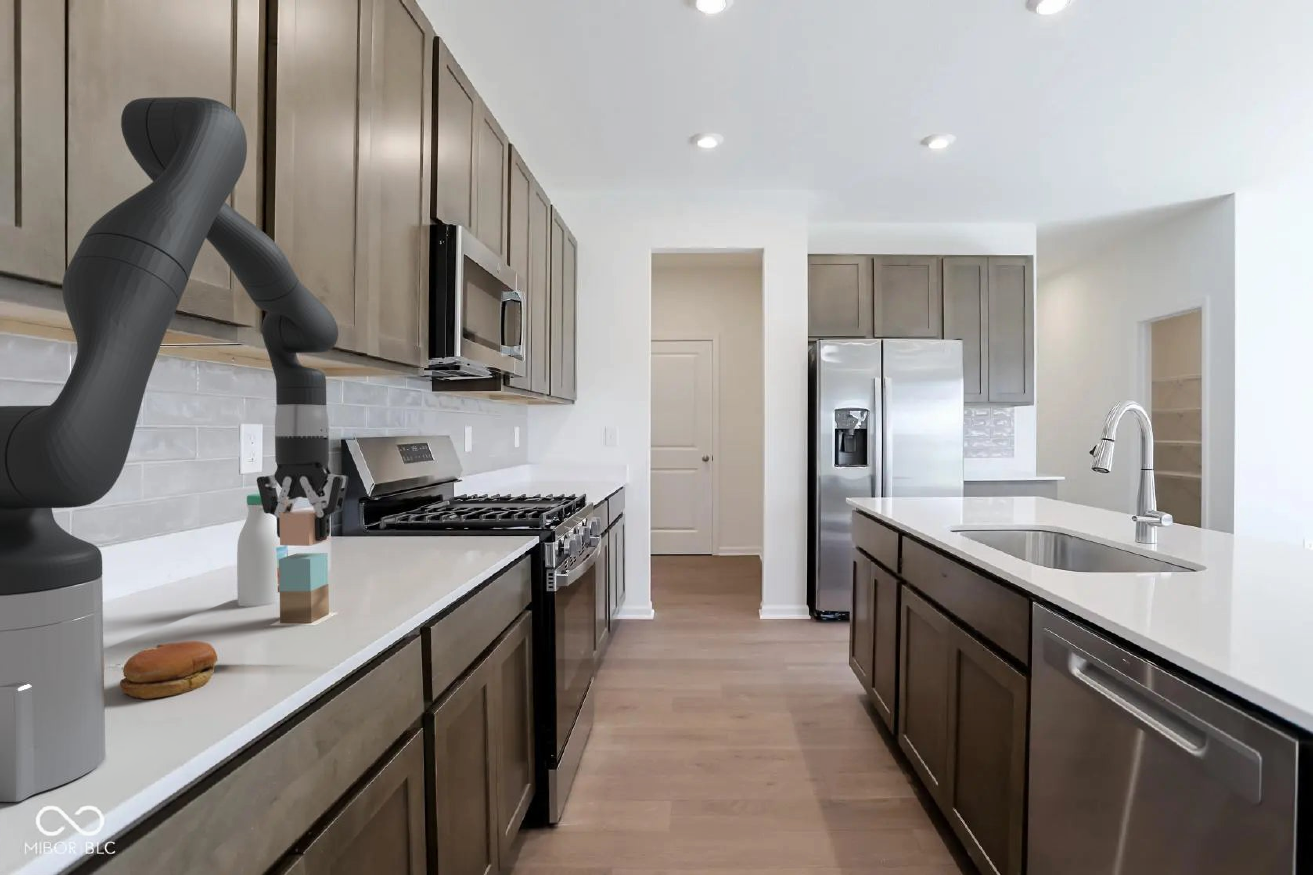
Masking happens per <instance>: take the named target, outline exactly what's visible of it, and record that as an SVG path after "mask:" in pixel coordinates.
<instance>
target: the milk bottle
mask: <svg viewBox="0 0 1313 875" xmlns="http://www.w3.org/2000/svg"><path fill="white" fill-rule="evenodd" d="M246 504H247V506H246V508H247V509H248V512H247V513H248V514H247V517H246V520H245V522H244V524H243V527H242V528H241V531H240V532H239V536H238V539H237V547H236V548H237V552H236V562H237V563H236V568H237V569H236V572H237V574H236V576H237V578H236V579H237V580H236V581H237V584H236V586H237V605H238V606H240V607H246V608H247V607H249V608H250V607H251V608H252V607H265V606H270V605H277V604H280V591H279V559H281V558H284V557H287V556H289V555H288V553H289V549H288V548H289V547H288V545H280V537H278V536H277V518H276V516H275V515H272V514H270V513H268V514H267V513H265V512H264V510H263V506H262V502H261V497H260V493H252V494H247V495H246Z"/></svg>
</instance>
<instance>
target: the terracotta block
mask: <svg viewBox="0 0 1313 875" xmlns="http://www.w3.org/2000/svg"><path fill="white" fill-rule="evenodd" d="M315 518H318V517H317V515H316V513H315V510H314V509H297V510H292V511H291V512H285V513H280V545H287V547H288V546H294V547H295V546H298V547H299V546H300V547H302V546H303V547H304V546H307V547H308V546H309V547H310V546H314V545H317V544H323V543H325V542H329V541H330V539H331V537H330V535H329V536H327V539H326V540H323V541H316V539H315Z"/></svg>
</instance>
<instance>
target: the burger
mask: <svg viewBox="0 0 1313 875" xmlns="http://www.w3.org/2000/svg"><path fill="white" fill-rule="evenodd" d="M217 662H218V654H217V651H216V650H215V648H214V647H213V645H211V644H210V643H208V642H204V641H197V640H194V641H179V642H174V643H173V642H172V643H171V642H170V643H163V644H158V645H157V646H154V647H148V648H145V649H143V650H140V651H139V652H137V653H135V654H134V655H132V656H131V657H130V658H129V659H128V660H127V661H126V663H125V664H124V666H123V669H122V673H123V677H124V678H122V679H121V680H120V681H119V686H120V689H121V691H122V692H123V693H124V694H126V695H128V696H130V697H132V698H136V699H139V698H140V699H144V700H145V699H147V700H148V699H150V700H151V699H157V698H158V699H159V698H163V697H169V696H175V695H180V694H184V692H185V693H187V692H191V691H194V690H197V689H199V688H200V689H201V688H202V687H204V686H205V685H206V684H207V683H208V682H209V681H210V679H211V678H212V677H213V674H214V671H215V664H216V663H217Z"/></svg>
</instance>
